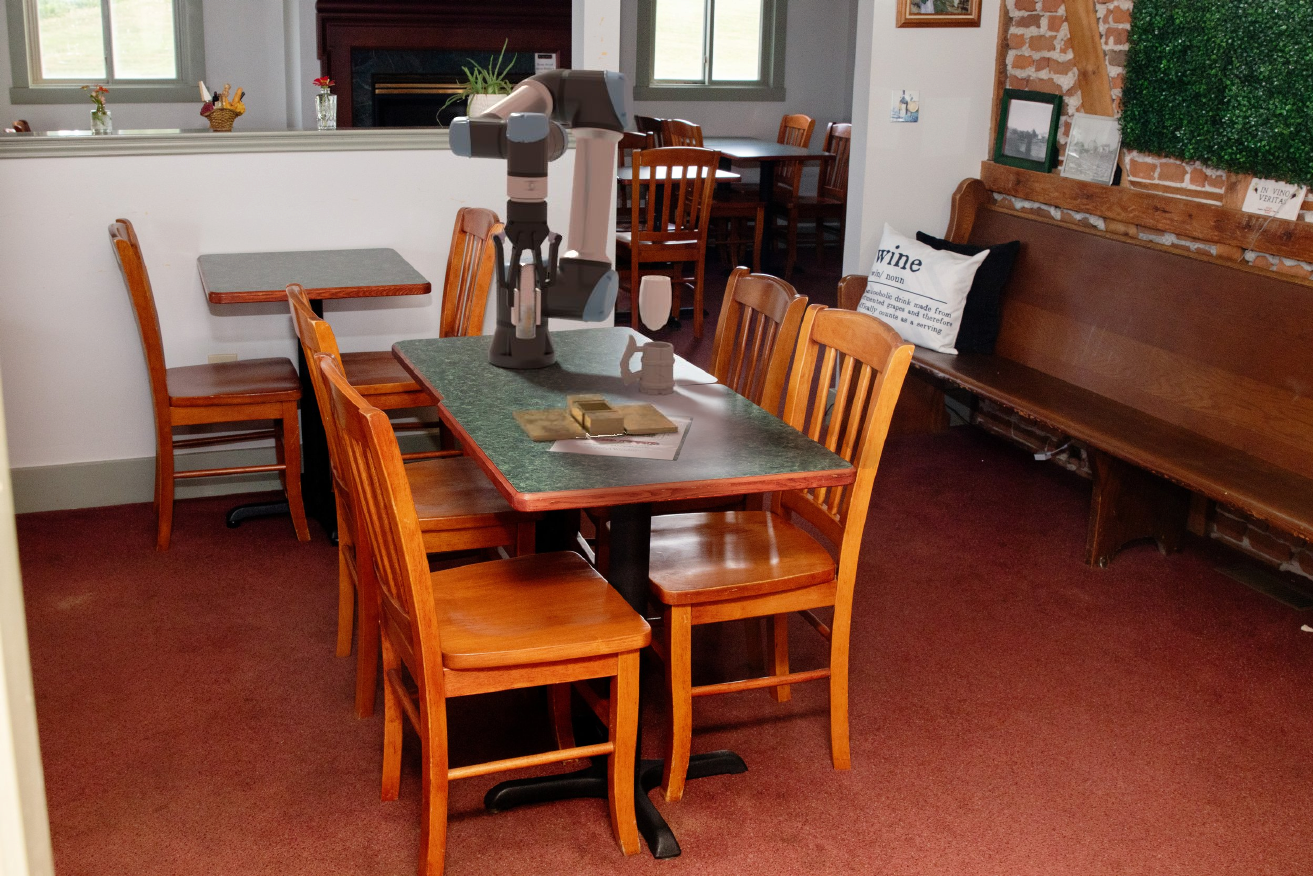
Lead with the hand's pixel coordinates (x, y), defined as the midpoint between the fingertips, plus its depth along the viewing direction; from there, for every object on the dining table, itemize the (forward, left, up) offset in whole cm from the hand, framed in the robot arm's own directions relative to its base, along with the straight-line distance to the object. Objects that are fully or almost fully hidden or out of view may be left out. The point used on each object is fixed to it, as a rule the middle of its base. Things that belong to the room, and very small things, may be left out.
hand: (525, 323), depth 236 cm
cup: (-28, +36, -18) cm, 49 cm away
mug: (-11, +29, -18) cm, 36 cm away
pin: (0, 0, -3) cm, 3 cm away
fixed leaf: (+11, +6, -17) cm, 22 cm away
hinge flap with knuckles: (+11, +16, -17) cm, 26 cm away
